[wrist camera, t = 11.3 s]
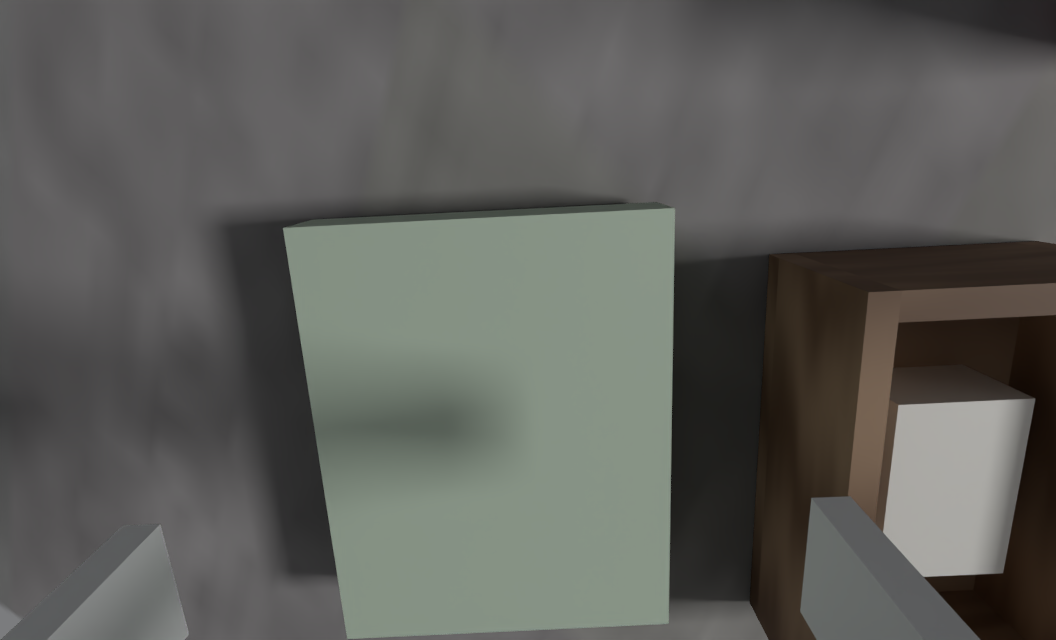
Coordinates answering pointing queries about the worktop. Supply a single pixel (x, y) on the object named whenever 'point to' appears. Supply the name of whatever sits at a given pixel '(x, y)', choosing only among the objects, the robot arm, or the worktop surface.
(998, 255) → the box
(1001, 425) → the soap bar
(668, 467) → the lid
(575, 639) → the worktop surface
